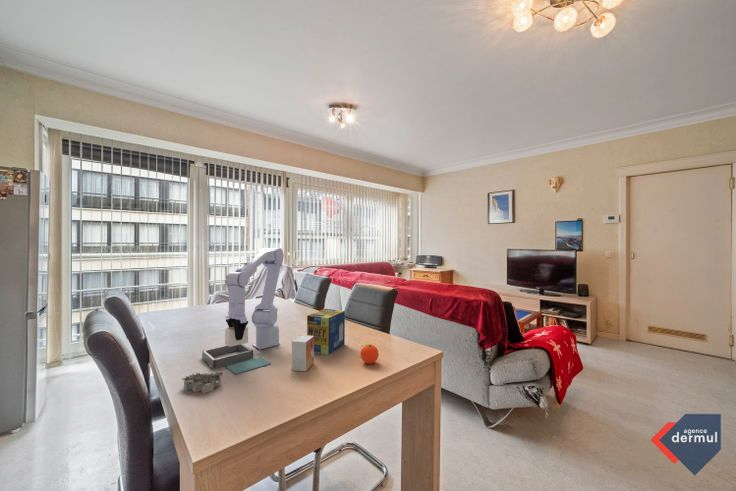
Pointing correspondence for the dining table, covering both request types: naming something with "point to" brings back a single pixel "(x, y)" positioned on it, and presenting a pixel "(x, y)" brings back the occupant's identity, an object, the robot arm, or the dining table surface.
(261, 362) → the mat
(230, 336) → the box
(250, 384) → the dining table surface
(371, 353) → the clementine
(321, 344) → the protein box
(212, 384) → the egg carton
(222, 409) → the dining table surface
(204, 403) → the dining table surface
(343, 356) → the dining table surface
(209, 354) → the bin
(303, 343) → the small box
